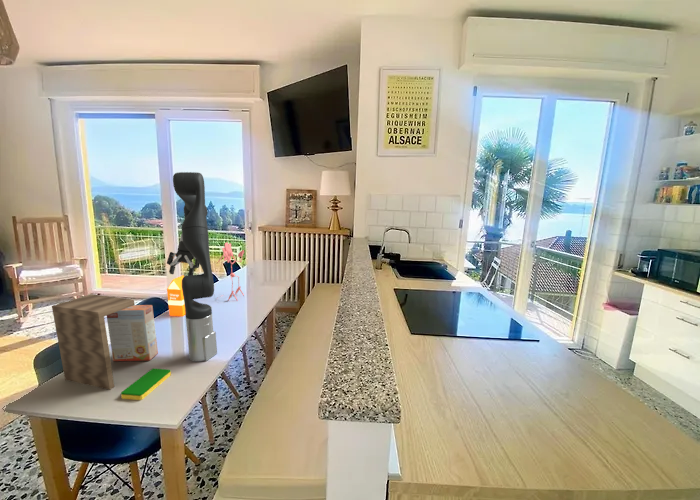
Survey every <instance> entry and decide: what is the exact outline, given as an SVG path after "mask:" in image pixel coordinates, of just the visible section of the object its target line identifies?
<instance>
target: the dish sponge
mask: <svg viewBox="0 0 700 500" xmlns="http://www.w3.org/2000/svg"><path fill="white" fill-rule="evenodd" d="M170 376H172V371H171V369H167V368H166V369H164V368H151V369H150V370H148V371H147V372H146V373H145V374H143V375H142V376H141V377H139V378H138V379H137V380H135V381H134V382H133V383H132V384H129V386H128V387H126V388H125V389H124V390H123V391H121V392H120V395H121V399H122V400H133V401H142V400H143V399H145V398H146V397H148V396H149V395H150V394H151V393H152V392H153V391H154V390H155V389H156V388H157V387H159V386H160V385H161V384H163V383H164V382H165V381H166V380H167V379H168V378H170Z"/></svg>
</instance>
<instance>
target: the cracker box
mask: <svg viewBox="0 0 700 500" xmlns="http://www.w3.org/2000/svg"><path fill="white" fill-rule="evenodd" d="M154 317H155V316H154V308H153V304H139V305H138V304H137V305H133V306H131V307H128V308H125V309H123V310H120V311H117V312H115V313H112V314H109V315H107V316H106V322H107V327H108V328H107V329H108V335H109V343H110V348H111V354H112V355H111V356H112V361H113V362H137V361H138V362H140V361H141V362H142V361H143V362H146V361H147V362H149V361H151V360H152V359H153V358H155V357H156V356H157V354H158V353H159V351H158V350H159V349H158V341H157V334H156V326H155V325H156V323H155V318H154Z"/></svg>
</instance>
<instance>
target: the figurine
mask: <svg viewBox="0 0 700 500" xmlns="http://www.w3.org/2000/svg"><path fill="white" fill-rule="evenodd" d="M232 249H233V248H232V242H230V243H228V242H227V241H226V242H225V243H224V247H222V248H221V250H222V255H221V256H220V258H219V260H217V262H216V264H218V263H219V262H220V261H221V260H222V259H223V261H224V262H226V261H227V263H228V264H229V263H230V269H231V271H230V274H229V276H230V280H231V288H233V287H234V286H233V284H234V282H233V278H234V277H236V278H238V280H237V283H238V284H240V276H239V275H238V276H237V275H236V274H235V272H233V265H234V264H235V263H237V262H240V263H242V261H243V255H244V254H245V250H244V249H243V250H240V251H239V253H238V255H237V256H238V258H240V260H236V258H235V257H234V252H233V250H232ZM231 257H232V258H233V260H234V261H233V262H232V260H231ZM239 291H240V293H241V294H242V296H244V292H243V291H242V290H241V286H240V285H239V286H237V288H236V290H235V291H234V290H231V293H230V294H229V297H228V299H227V302H229V300H230V299H231V298H232V296H234V299H236V301H238V298H237V297H236V295H237V294H238V292H239ZM234 292H235V293H234ZM235 294H236V295H235ZM223 296H224V294H223V295H221V297H223ZM218 298H220V296H219V297H217V299H218Z"/></svg>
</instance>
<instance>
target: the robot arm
mask: <svg viewBox="0 0 700 500" xmlns="http://www.w3.org/2000/svg"><path fill="white" fill-rule="evenodd" d="M172 184H173V185H172V186H173V189H174V192H175V193H176V195H177V196H178V197H179V198H180V199H181V200H182V201H183V203H184V205H183V215H184V220H183V222H182V224H181V234H180V238H179V243H178V246H177V252H173V251H170V252H169V255H168V258H167V261H166V264H167V265H169V271H168V272H169V274H170V275H174V274H175V270H176V266H177V265H178V264H180V263H181V264H187V265H188V266H189V267H190V268H189V270H188V274H187V275H183V276H184V277H183V279H182V291H183V297H184V304H185V315H184V317H185V323H186V324H185V327H186V336H187V347H188V356H189V357H188V358H189V360H191V361H192V362H204V361H206V362H207V361H209V360H210V359H211V358H213V357H214V356H215V355H217V354H218V346H217V333H216V330H214V324H213V311H212V306H211V305H210V304H206V303H203V302H198V301H196V300H198V299H205V298H211V297H213V296H214V295H215V294H214V293H215V282H214V275H213V269H212V263H211V257H210V255H211V254H210V237H209V229H208V228H209V227H208V221H207V215H208V212H209V211H208V208H207V206H206V194H205V193H206V191H205V189H206V188H205V187H206V186H205V180H204V176H203V174H202V173H201V172H196V171H195V172H194V171H193V172H192V171H190V172H188V171H187V172H185V171H184V172H183V171H181V172H175V173H174V174H173V176H172ZM175 257H176V258H175ZM174 258H175V259H174ZM193 260H194V262H193ZM200 267H201V269H202V272H203V273H202V274H201V273H200V274H194V271H195V269H198V268H200Z"/></svg>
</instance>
